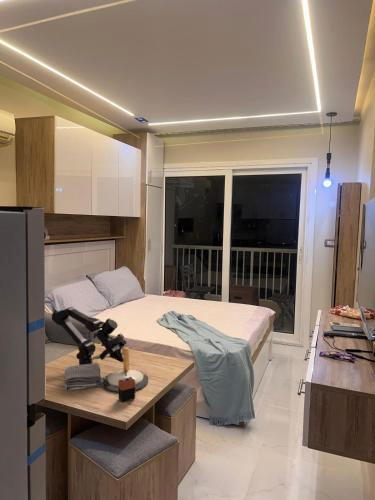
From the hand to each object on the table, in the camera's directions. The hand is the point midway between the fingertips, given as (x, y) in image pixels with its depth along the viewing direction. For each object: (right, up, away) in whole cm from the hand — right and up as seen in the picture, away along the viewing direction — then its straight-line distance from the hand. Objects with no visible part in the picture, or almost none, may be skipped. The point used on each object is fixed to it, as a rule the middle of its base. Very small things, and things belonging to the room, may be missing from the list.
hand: (123, 361), depth 193 cm
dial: (+3, -6, -8) cm, 10 cm away
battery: (+6, -10, -25) cm, 28 cm away
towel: (-19, -9, -9) cm, 22 cm away
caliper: (-14, -5, +28) cm, 32 cm away
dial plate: (+3, -8, -8) cm, 12 cm away
